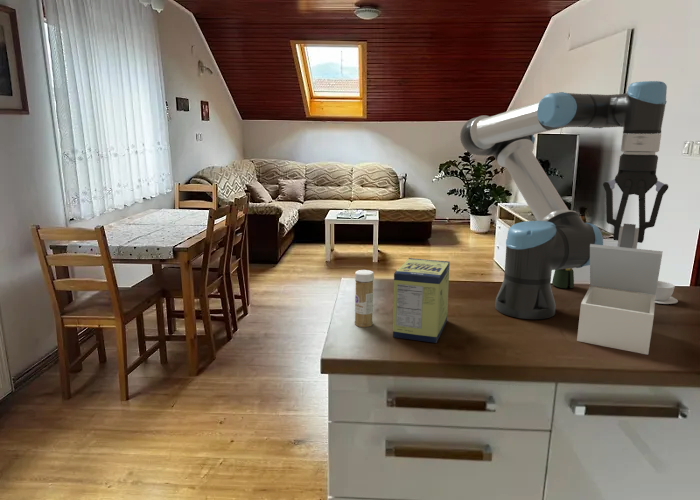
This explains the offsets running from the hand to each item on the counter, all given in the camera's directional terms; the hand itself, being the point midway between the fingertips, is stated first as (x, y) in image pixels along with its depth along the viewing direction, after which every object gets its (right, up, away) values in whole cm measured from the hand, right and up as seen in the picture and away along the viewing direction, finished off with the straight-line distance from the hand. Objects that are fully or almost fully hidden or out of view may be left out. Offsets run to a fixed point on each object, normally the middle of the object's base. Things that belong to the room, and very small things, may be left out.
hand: (626, 254), depth 118 cm
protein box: (-48, -18, +2) cm, 52 cm away
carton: (-4, -19, -2) cm, 19 cm away
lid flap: (-2, -4, -3) cm, 5 cm away
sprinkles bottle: (-62, -17, +5) cm, 64 cm away
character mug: (0, -11, +36) cm, 38 cm away
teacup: (+23, -13, +25) cm, 37 cm away
